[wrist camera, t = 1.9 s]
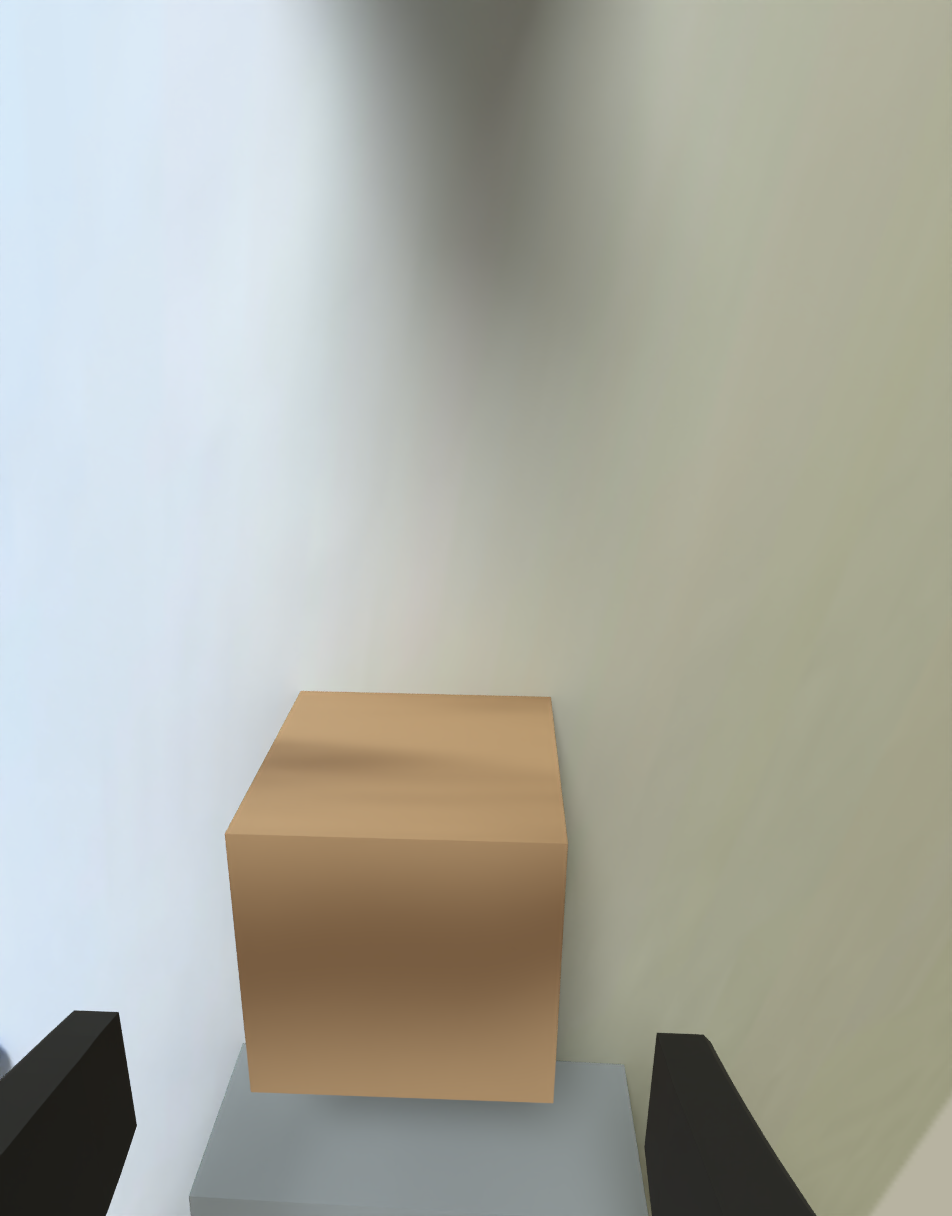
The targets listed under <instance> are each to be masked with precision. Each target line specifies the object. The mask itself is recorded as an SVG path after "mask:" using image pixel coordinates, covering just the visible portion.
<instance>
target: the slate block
mask: <svg viewBox="0 0 952 1216" xmlns="http://www.w3.org/2000/svg"><path fill="white" fill-rule="evenodd" d="M189 1202H190V1212H191V1216H648V1211H647V1205H646V1198H645V1192H644V1186H643V1180H642V1173H641V1167H640V1161H639V1155H638V1148H637V1142H636V1136H635V1130H634V1123H633V1117H632V1111H631V1105H630V1098H629V1092H628V1086H627V1080H626V1073H625V1067H624V1065H621V1064H603V1063H585V1062H567V1061H556V1065H555V1083H554V1101H553V1103H532V1102H505V1101H477V1100H450V1099H423V1098H396V1097H368V1096H341V1095H314V1094H287V1093H260V1092H251V1090H250V1080H249V1070H248V1060H247V1050H246V1043H243V1045H242V1048H241V1051H240V1053H239V1056H238V1059H237V1062H236V1065H235V1068H234V1070H233V1073H232V1076H231V1079H230V1082H229V1085H228V1087H227V1090H226V1093H225V1096H224V1099H223V1101H222V1104H221V1107H220V1110H219V1113H218V1116H217V1118H216V1121H215V1124H214V1127H213V1130H212V1133H211V1135H210V1138H209V1141H208V1144H207V1147H206V1150H205V1152H204V1155H203V1158H202V1161H201V1164H200V1167H199V1169H198V1172H197V1175H196V1178H195V1181H194V1183H193V1186H192V1189H191V1192H190V1195H189Z"/></svg>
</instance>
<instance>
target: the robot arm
mask: <svg viewBox="0 0 952 1216" xmlns="http://www.w3.org/2000/svg"><path fill="white" fill-rule="evenodd" d="M136 1127H137V1124H136V1117H135V1111H134V1105H133V1099H132V1092H131V1086H130V1080H129V1074H128V1067H127V1061H126V1055H125V1049H124V1042H123V1036H122V1030H121V1023H120V1017H119V1012H100V1011H73V1012H72V1013H71V1014H70V1015H69V1016H68V1017H67V1018H65V1019H64V1020H63V1021H62V1022H61V1023H60V1024H59V1025H58V1026H57V1027H56V1028H55V1029H54V1030H52V1031H51V1032H50V1033H49V1034H48V1035H47V1036H46V1037H45V1038H44V1039H43V1040H42V1041H41V1042H40V1043H39V1044H38V1045H36V1046H35V1047H34V1048H33V1049H32V1050H31V1051H30V1052H29V1053H28V1054H27V1055H26V1056H25V1057H24V1058H23V1059H22V1060H21V1061H20V1062H19V1063H18V1064H16V1065H15V1066H14V1067H13V1068H12V1069H11V1070H10V1071H9V1072H8V1073H7V1074H6V1075H5V1076H4V1077H3V1078H2V1079H1V1080H0V1216H106V1214H107V1211H108V1209H109V1206H110V1203H111V1200H112V1197H113V1195H114V1192H115V1189H116V1186H117V1183H118V1181H119V1178H120V1175H121V1172H122V1169H123V1166H124V1163H125V1160H126V1157H127V1154H128V1151H129V1148H130V1145H131V1142H132V1139H133V1136H134V1133H135V1130H136ZM645 1156H646V1165H647V1174H648V1183H649V1192H650V1201H651V1209H652V1216H816V1214H815V1213H814V1211H813V1210H812V1209H811V1207H810V1206H809V1204H808V1203H807V1201H806V1200H805V1198H804V1197H803V1195H802V1193H801V1192H800V1190H799V1189H798V1187H797V1186H796V1184H795V1183H794V1181H793V1180H792V1178H791V1177H790V1175H789V1174H788V1172H787V1171H786V1169H785V1168H784V1166H783V1165H782V1163H781V1162H780V1160H779V1159H778V1157H777V1155H776V1154H775V1152H774V1151H773V1149H772V1148H771V1146H770V1144H769V1143H768V1141H767V1140H766V1138H765V1136H764V1135H763V1133H762V1131H761V1130H760V1128H759V1126H758V1125H757V1123H756V1121H755V1120H754V1118H753V1117H752V1115H751V1113H750V1112H749V1110H748V1108H747V1107H746V1105H745V1103H744V1101H743V1100H742V1098H741V1096H740V1095H739V1093H738V1091H737V1089H736V1088H735V1086H734V1084H733V1082H732V1081H731V1079H730V1077H729V1075H728V1073H727V1072H726V1070H725V1068H724V1066H723V1064H722V1063H721V1061H720V1059H719V1057H718V1055H717V1053H716V1051H715V1049H714V1047H713V1046H712V1044H711V1042H710V1041H709V1040H708V1039H707V1038H706V1037H705V1036H704V1035H699V1034H673V1033H657V1036H656V1045H655V1054H654V1064H653V1073H652V1082H651V1092H650V1101H649V1110H648V1119H647V1129H646V1138H645Z"/></svg>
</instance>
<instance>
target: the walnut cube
mask: <svg viewBox="0 0 952 1216" xmlns="http://www.w3.org/2000/svg"><path fill="white" fill-rule="evenodd" d="M225 841H226V851H227V861H228V870H229V880H230V890H231V900H232V910H233V920H234V930H235V940H236V950H237V960H238V970H239V980H240V990H241V1000H242V1010H243V1020H244V1030H245V1040H246V1050H247V1060H248V1070H249V1080H250V1090H251V1092H260V1093H287V1094H314V1095H341V1096H368V1097H396V1098H423V1099H450V1100H477V1101H505V1102H532V1103H553V1101H554V1083H555V1065H556V1047H557V1029H558V1011H559V994H560V976H561V958H562V940H563V922H564V904H565V886H566V868H567V850H568V841H567V832H566V824H565V815H564V807H563V798H562V790H561V781H560V773H559V764H558V756H557V747H556V739H555V730H554V722H553V713H552V705H551V697H527V696H486V695H444V694H402V693H360V692H318V691H301V692H300V693H299V695H298V697H297V699H296V701H295V703H294V705H293V707H292V708H291V710H290V712H289V714H288V716H287V718H286V720H285V722H284V724H283V725H282V727H281V729H280V731H279V733H278V735H277V737H276V739H275V740H274V742H273V744H272V746H271V748H270V750H269V752H268V754H267V755H266V757H265V759H264V761H263V763H262V765H261V767H260V769H259V771H258V772H257V774H256V776H255V778H254V780H253V782H252V784H251V786H250V787H249V789H248V791H247V793H246V795H245V797H244V799H243V801H242V802H241V804H240V806H239V808H238V810H237V812H236V814H235V816H234V818H233V819H232V821H231V823H230V825H229V827H228V829H227V831H226V833H225Z"/></svg>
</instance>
